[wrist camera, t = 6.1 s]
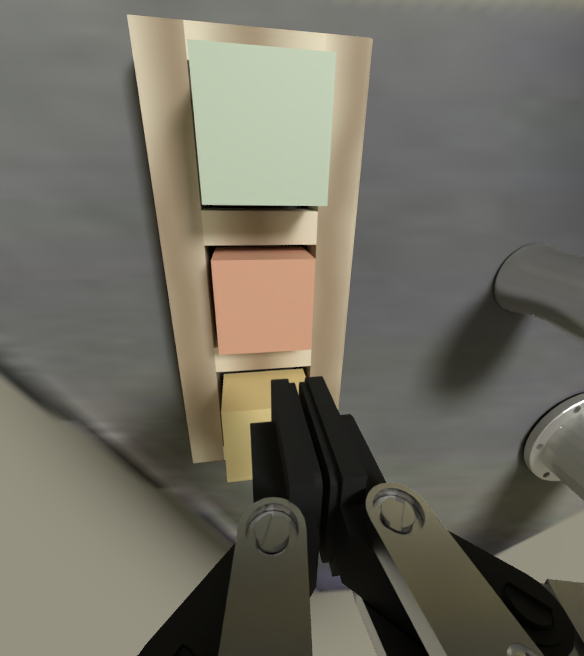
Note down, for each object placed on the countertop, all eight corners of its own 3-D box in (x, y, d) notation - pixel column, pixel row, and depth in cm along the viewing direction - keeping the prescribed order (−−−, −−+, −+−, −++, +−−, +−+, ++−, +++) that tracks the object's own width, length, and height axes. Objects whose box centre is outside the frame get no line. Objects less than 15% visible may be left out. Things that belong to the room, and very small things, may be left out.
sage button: (312, 84, 17) (336, 52, 13) (308, 202, 20) (327, 206, 16) (199, 76, 16) (186, 39, 12) (209, 201, 19) (202, 204, 15)
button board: (353, 59, 19) (372, 38, 16) (325, 424, 30) (334, 447, 28) (144, 41, 17) (126, 14, 15) (197, 437, 29) (193, 463, 26)
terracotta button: (301, 246, 23) (315, 258, 19) (299, 323, 25) (311, 349, 21) (215, 247, 22) (210, 260, 18) (222, 326, 24) (218, 355, 20)
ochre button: (302, 368, 24) (315, 404, 20) (300, 429, 27) (311, 472, 23) (223, 374, 24) (221, 412, 20) (228, 436, 26) (227, 482, 22)
